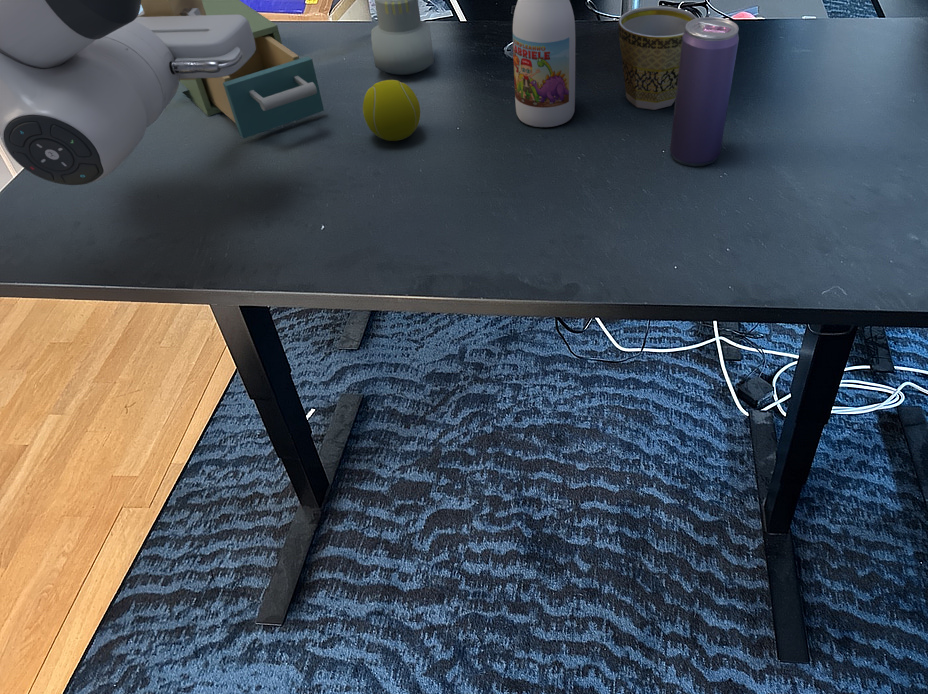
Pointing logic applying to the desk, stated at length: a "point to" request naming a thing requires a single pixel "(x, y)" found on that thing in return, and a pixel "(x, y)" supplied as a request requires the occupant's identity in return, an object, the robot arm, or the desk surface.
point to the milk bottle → (544, 62)
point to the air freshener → (401, 38)
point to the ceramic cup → (652, 54)
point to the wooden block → (170, 9)
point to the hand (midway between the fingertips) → (174, 15)
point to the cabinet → (229, 3)
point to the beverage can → (703, 89)
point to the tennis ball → (391, 110)
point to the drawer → (267, 89)
